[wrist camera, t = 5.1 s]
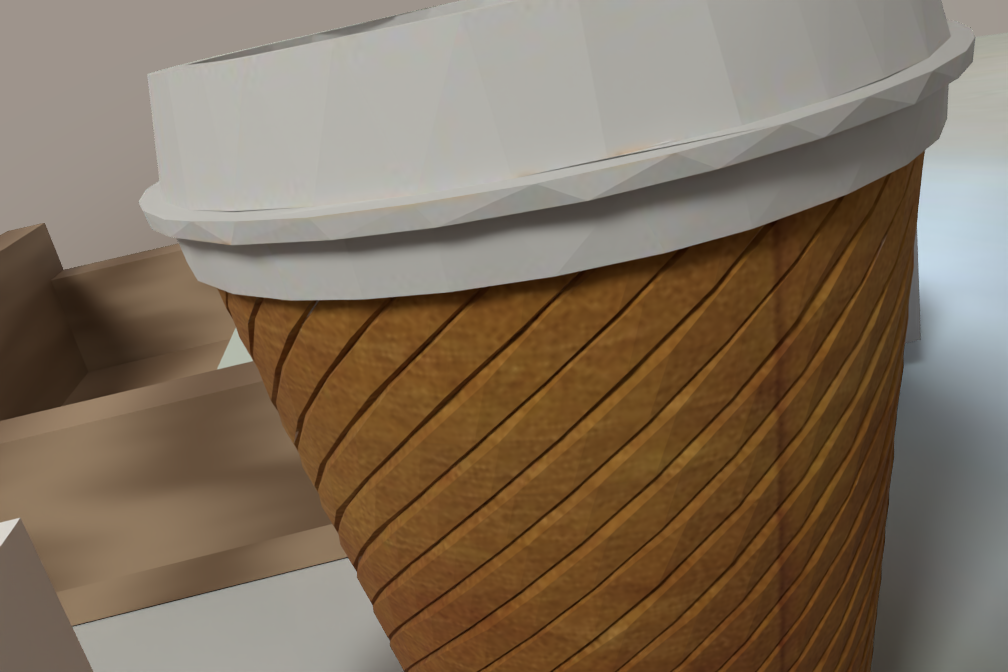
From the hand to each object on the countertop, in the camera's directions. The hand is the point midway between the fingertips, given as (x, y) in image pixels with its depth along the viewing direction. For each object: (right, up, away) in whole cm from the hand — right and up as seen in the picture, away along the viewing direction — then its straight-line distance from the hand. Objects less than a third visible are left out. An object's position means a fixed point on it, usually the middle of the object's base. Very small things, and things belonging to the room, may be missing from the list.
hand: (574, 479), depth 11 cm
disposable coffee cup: (+2, -5, +4) cm, 7 cm away
